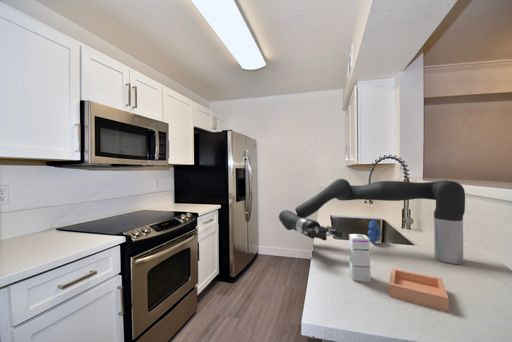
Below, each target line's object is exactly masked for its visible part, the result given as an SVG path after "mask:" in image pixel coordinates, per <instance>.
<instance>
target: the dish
mask: <svg viewBox="0 0 512 342" xmlns="http://www.w3.org/2000/svg"><path fill="white" fill-rule="evenodd" d="M388 296H389V297H392V298H396V299H399V300H403V301H407V302H410V303H413V304H414V303H415V304H419V305H421V304H422V305H421V306H425V305H426V306H425V307H430V308H433V309H438V310H441V311H444V312H448V313H449V312H450V311H449V297H448V296H449V295H448V293H447V289H446V287H445V284H444V281H443V278H442V277H441V278H440V277H437V276H431V275H427V274H422V273H418V272H417V273H416V272H413V271H407V270H402V269H397V268H391V270H390V277H389V283H388Z"/></svg>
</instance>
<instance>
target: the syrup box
mask: <svg viewBox="0 0 512 342" xmlns="http://www.w3.org/2000/svg"><path fill="white" fill-rule="evenodd" d="M368 237H369V236H367V235H366V234H361V233H350V234H348V239H349V240H348V243H349V244H348V246H349V247H348V250H349V254H348V255H349V275H350V276H351V279H352V280H353V281H355V282H363V283H371V275H372V274H371V249H370V248H371V247H370V245H371V241H370V239H369V238H368Z"/></svg>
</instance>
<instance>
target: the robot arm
mask: <svg viewBox="0 0 512 342" xmlns="http://www.w3.org/2000/svg"><path fill="white" fill-rule="evenodd" d="M334 199H336V200H338V201H355V200H357V201H358V200H359V201H361V200H365V201H367V200H368V201H384V202H385V201H388V202H389V201H390V202H396V201H397V202H399V201H400V202H401V201H410V200H420V199H421V200H431V201H435V209H434V211H433V232H434V233H433V234H434V235H433V238H434V239H433V240H434V242H433V243H434V244H433V245H434V249H433V250H434V252H433V253H434V255H433V256H434V259H435V258H436V259H435V260H437V261H440V262H442V263H446V264H452V265H453V264H454V265H463V264H464V215H465V211H466V192H465V188H464V186H463V185H462V184H460V183H459V182H457V181H454V180H439V181H437V180H436V181H429V182H428V181H426V182H415V181H414V182H411V181H400V180H381V181H376V182H371V183H368V184H363V185H351V183H350V182H349V181H348V180H347V179H344V178H337V179H335V180H334V181H332V182H331V183H330V184H329V185H328V186H327V187H326V188H324V189H323V190H322V191H320V192H319V193H317V194H316V195H315V196H313V197H312V198H310V199H308V200H307V201H305V202H303V203H301V204H299V205H298V206H296V208H295V209H294V210H295V213H294V212H293V211H291V210H287V209H285V210H282V211H281V212H280V213H278V214H279V215H278V220H279V221H280V223H281V224H282V225H283V227H284V228H285V229H286V230H288V231H292V230H294V231H296V232H297V233H300V234H302V235H304V236H306V237H308V238H310V239H312V240H313V239H317V240H318V239H320V240H322V241H327V239H328V238H327V237H331V236H332V237H333V236H334V237H337V238H339V239H343V238H344V235H343V234H344V233H343V232H341V231H339V228H337V227H333V226H330V225H327V226H324V225H320V222H318V221H317V220H313V219H310V218H309V217H310V216H312V215H313V214H315V213H317V212H318V211H319V210H320V209H321V208H322V207H323V206H324V205H325V204H327V203H328V202H329V201H331V200H334Z"/></svg>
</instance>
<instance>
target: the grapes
mask: <svg viewBox="0 0 512 342" xmlns="http://www.w3.org/2000/svg"><path fill="white" fill-rule="evenodd" d="M368 224H369V225H367V227H368V231H367V234H368V235H369V236H367V237H368V238H369V239H370V243H372V244H375V243H377V241H378V240H379V238H378V237H379V236H382V234H383V231H382V230H380V228H379V227H378V225H379V224H378V223H377V221H375V220H370V221H369V223H368Z"/></svg>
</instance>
